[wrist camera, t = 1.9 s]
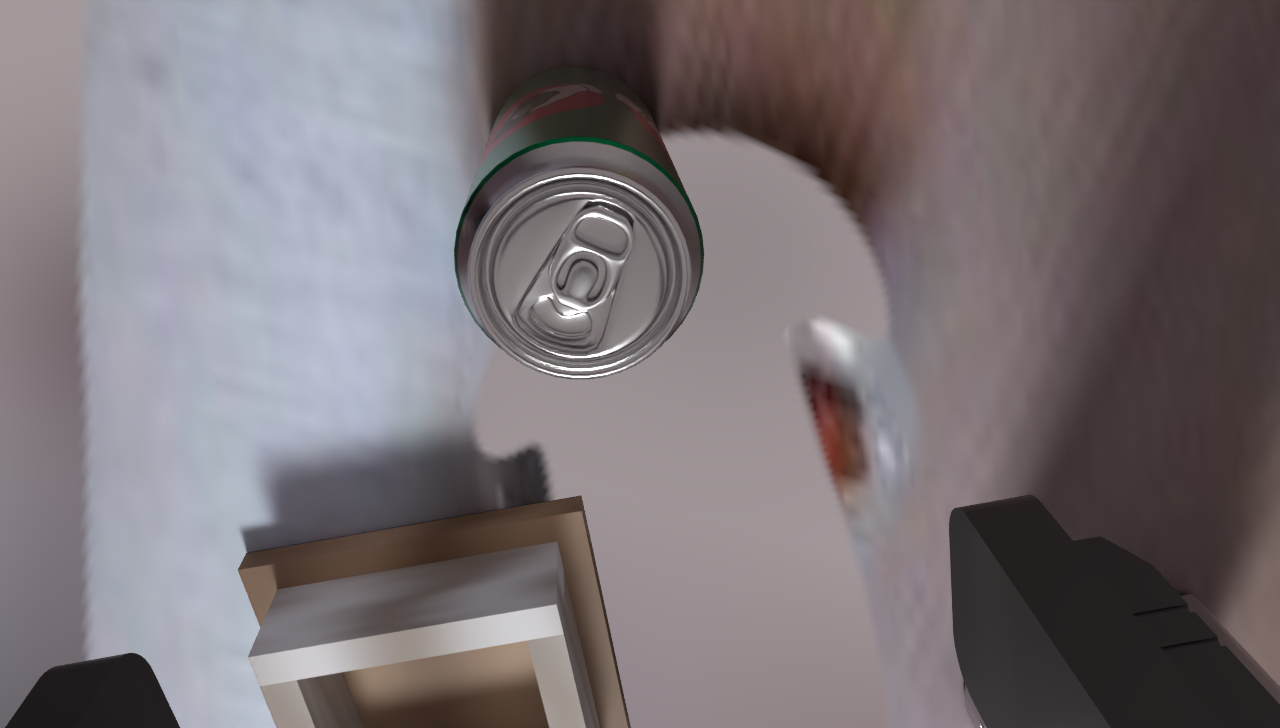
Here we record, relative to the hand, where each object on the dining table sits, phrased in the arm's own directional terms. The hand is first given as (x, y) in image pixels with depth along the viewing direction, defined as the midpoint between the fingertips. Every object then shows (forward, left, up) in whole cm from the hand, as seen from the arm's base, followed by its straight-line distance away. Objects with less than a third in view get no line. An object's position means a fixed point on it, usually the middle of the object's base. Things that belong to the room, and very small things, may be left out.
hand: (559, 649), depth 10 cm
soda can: (0, 0, -22) cm, 22 cm away
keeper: (+8, +18, -22) cm, 29 cm away
